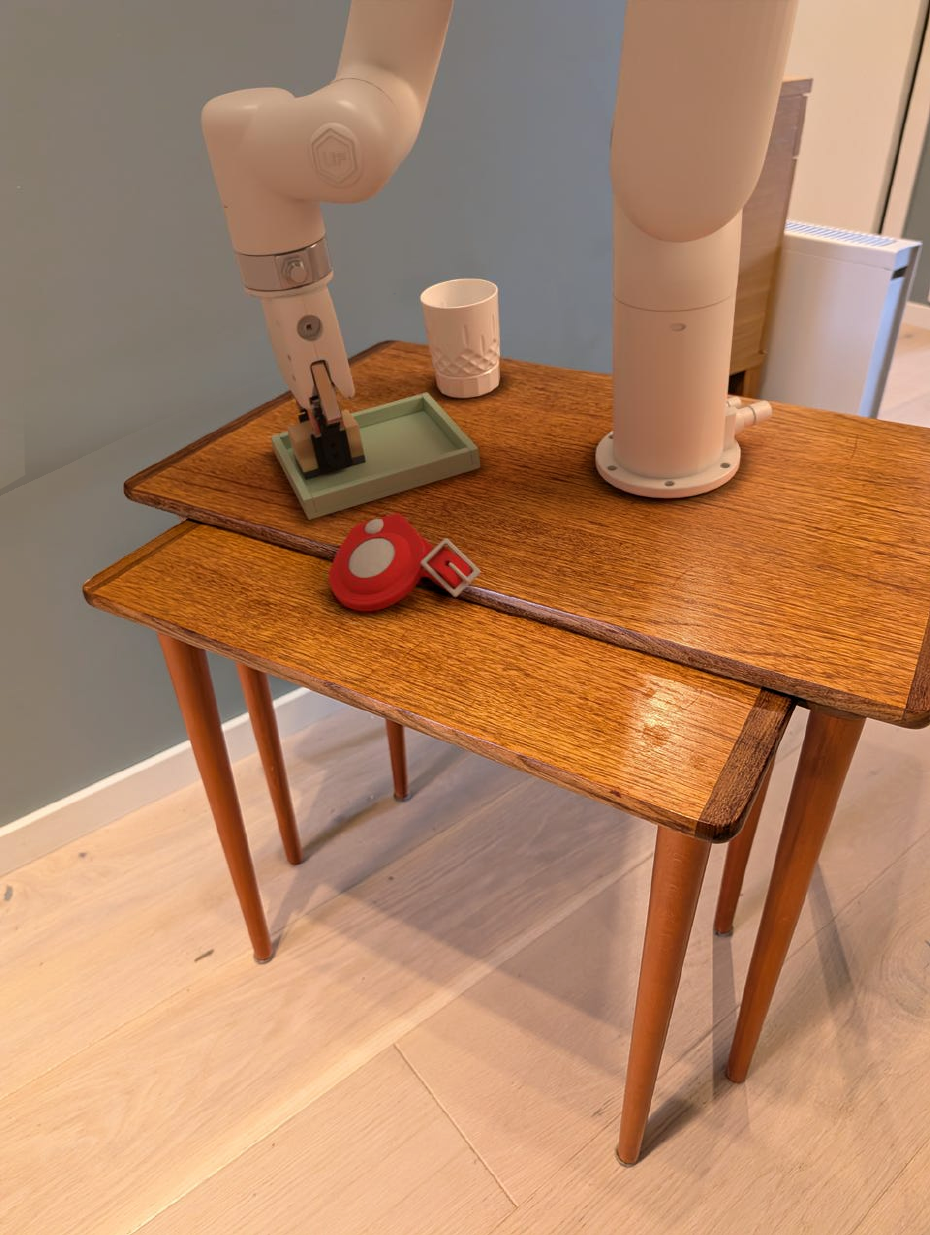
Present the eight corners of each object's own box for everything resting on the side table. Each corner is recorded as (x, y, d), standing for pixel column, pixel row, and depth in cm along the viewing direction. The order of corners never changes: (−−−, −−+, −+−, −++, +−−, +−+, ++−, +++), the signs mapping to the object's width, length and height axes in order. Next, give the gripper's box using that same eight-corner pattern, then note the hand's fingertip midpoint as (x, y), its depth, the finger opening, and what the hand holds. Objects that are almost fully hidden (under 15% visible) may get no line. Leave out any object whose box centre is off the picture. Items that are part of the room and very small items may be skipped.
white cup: (480, 406, 92) (470, 311, 86) (418, 394, 96) (404, 302, 90) (518, 375, 97) (512, 282, 91) (458, 364, 101) (447, 275, 95)
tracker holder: (320, 613, 67) (323, 515, 73) (345, 644, 70) (346, 548, 76) (473, 571, 64) (463, 473, 70) (492, 605, 68) (481, 509, 74)
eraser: (355, 446, 88) (347, 409, 85) (366, 462, 85) (358, 424, 82) (296, 463, 86) (286, 426, 84) (305, 480, 84) (295, 442, 81)
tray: (430, 410, 93) (427, 391, 92) (480, 468, 83) (478, 448, 82) (275, 454, 89) (270, 435, 88) (308, 520, 79) (303, 500, 78)
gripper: (358, 281, 68) (395, 487, 80) (303, 229, 81) (342, 414, 92) (262, 305, 67) (315, 512, 78) (221, 247, 79) (272, 434, 91)
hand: (329, 457), depth 85 cm, fingers closed on eraser, 3 cm apart
